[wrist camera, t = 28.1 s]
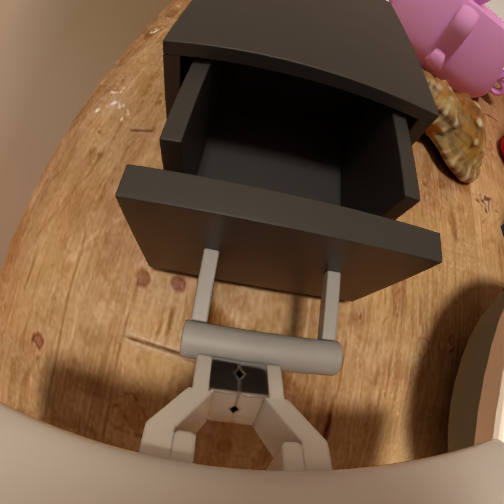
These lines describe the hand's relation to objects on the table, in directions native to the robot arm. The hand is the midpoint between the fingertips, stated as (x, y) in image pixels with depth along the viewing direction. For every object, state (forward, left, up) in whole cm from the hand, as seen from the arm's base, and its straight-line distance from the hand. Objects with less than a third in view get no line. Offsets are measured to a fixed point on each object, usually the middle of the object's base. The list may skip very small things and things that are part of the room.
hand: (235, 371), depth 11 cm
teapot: (+23, +42, -6) cm, 48 cm away
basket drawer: (+1, +9, -5) cm, 10 cm away
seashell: (+16, +21, -6) cm, 27 cm away
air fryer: (+1, +18, -5) cm, 19 cm away
